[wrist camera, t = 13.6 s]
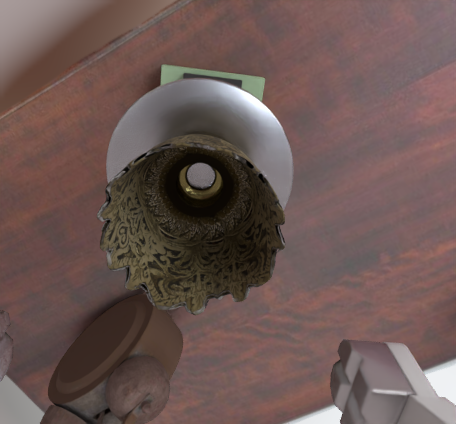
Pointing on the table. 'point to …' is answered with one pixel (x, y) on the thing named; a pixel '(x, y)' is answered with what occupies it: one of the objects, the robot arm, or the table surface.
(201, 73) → the scale
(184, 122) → the brushed steel disc
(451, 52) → the table surface
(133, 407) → the alarm clock
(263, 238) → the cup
